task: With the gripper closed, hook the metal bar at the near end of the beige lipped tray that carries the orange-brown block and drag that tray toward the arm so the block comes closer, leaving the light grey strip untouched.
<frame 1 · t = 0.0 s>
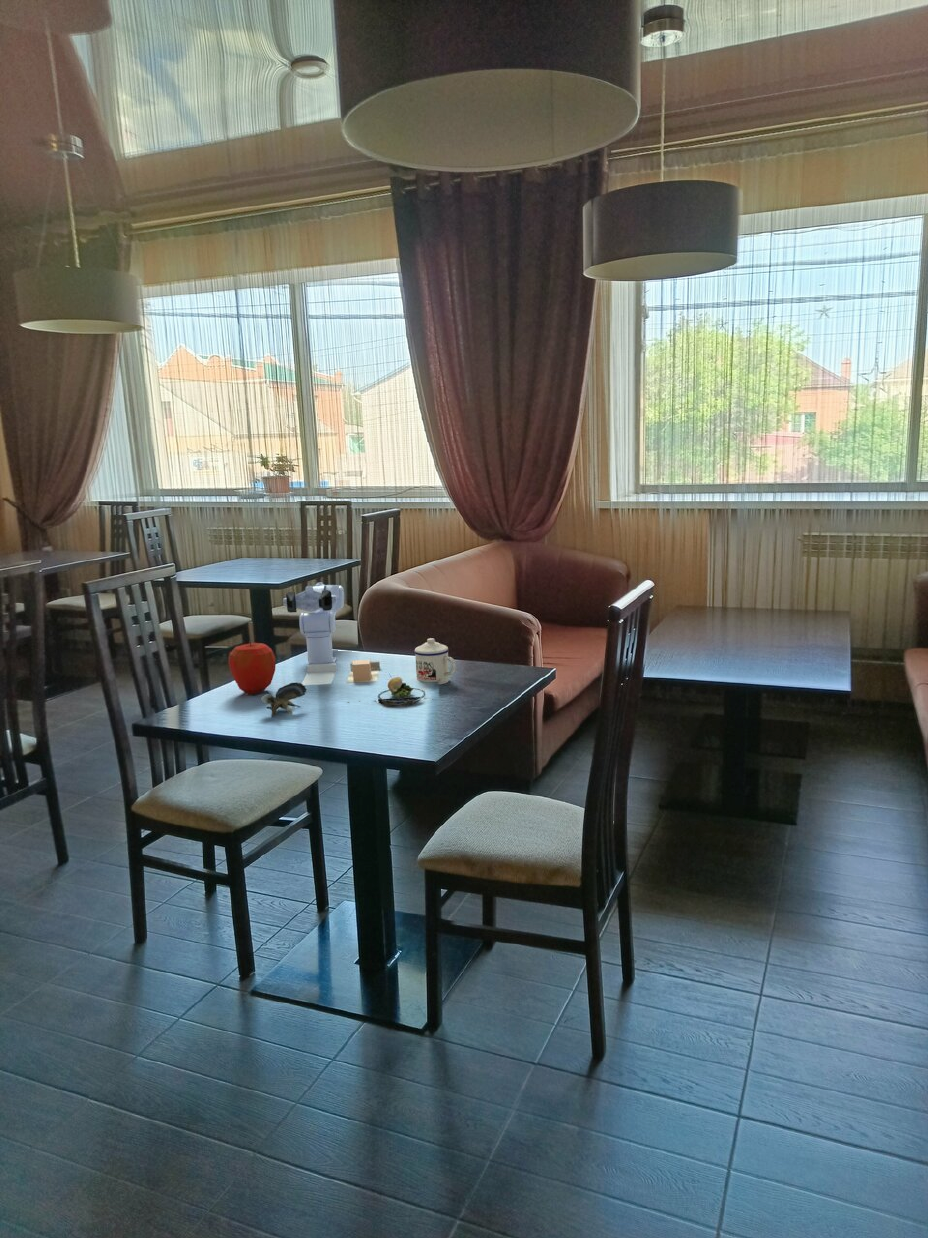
hand: (305, 603, 232), 22 cm above the table, tool horizontal, fingers open, 7 cm apart
apple: (255, 693, 229), on the table
beige lipped tray: (363, 673, 236), point 2 cm above the table, slide at 0.0 cm, touching block
teacup with lid: (437, 683, 230), on the table
grey strip: (319, 675, 236), point 2 cm above the table, slide at 0.0 cm
burger: (401, 701, 216), on the table
grey-brown animal figure: (285, 713, 211), on the table
block: (362, 678, 233), point 1 cm above the table, touching beige lipped tray
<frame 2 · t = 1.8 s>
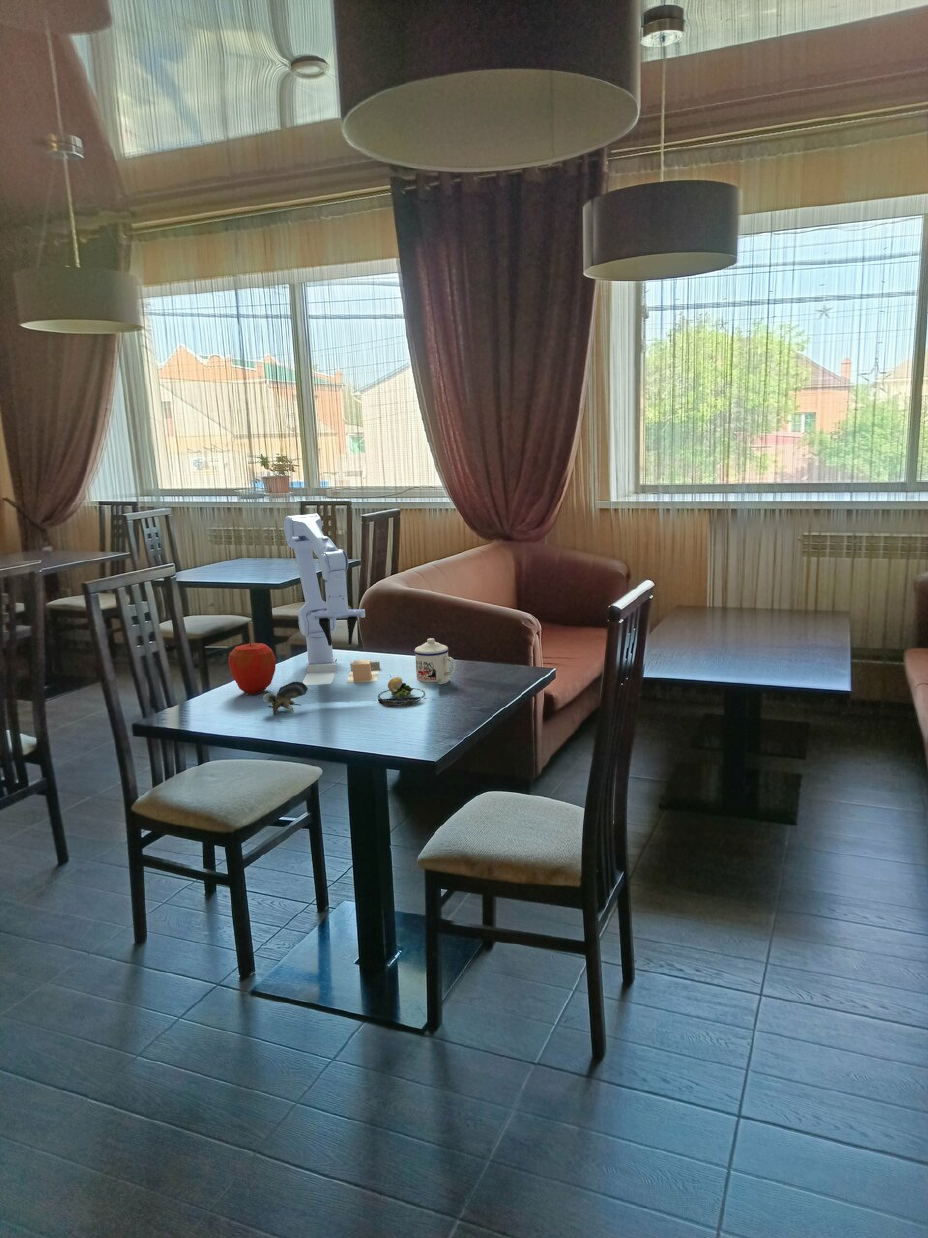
hand: (340, 644, 237), 9 cm above the table, tool pointing down, fingers open, 5 cm apart
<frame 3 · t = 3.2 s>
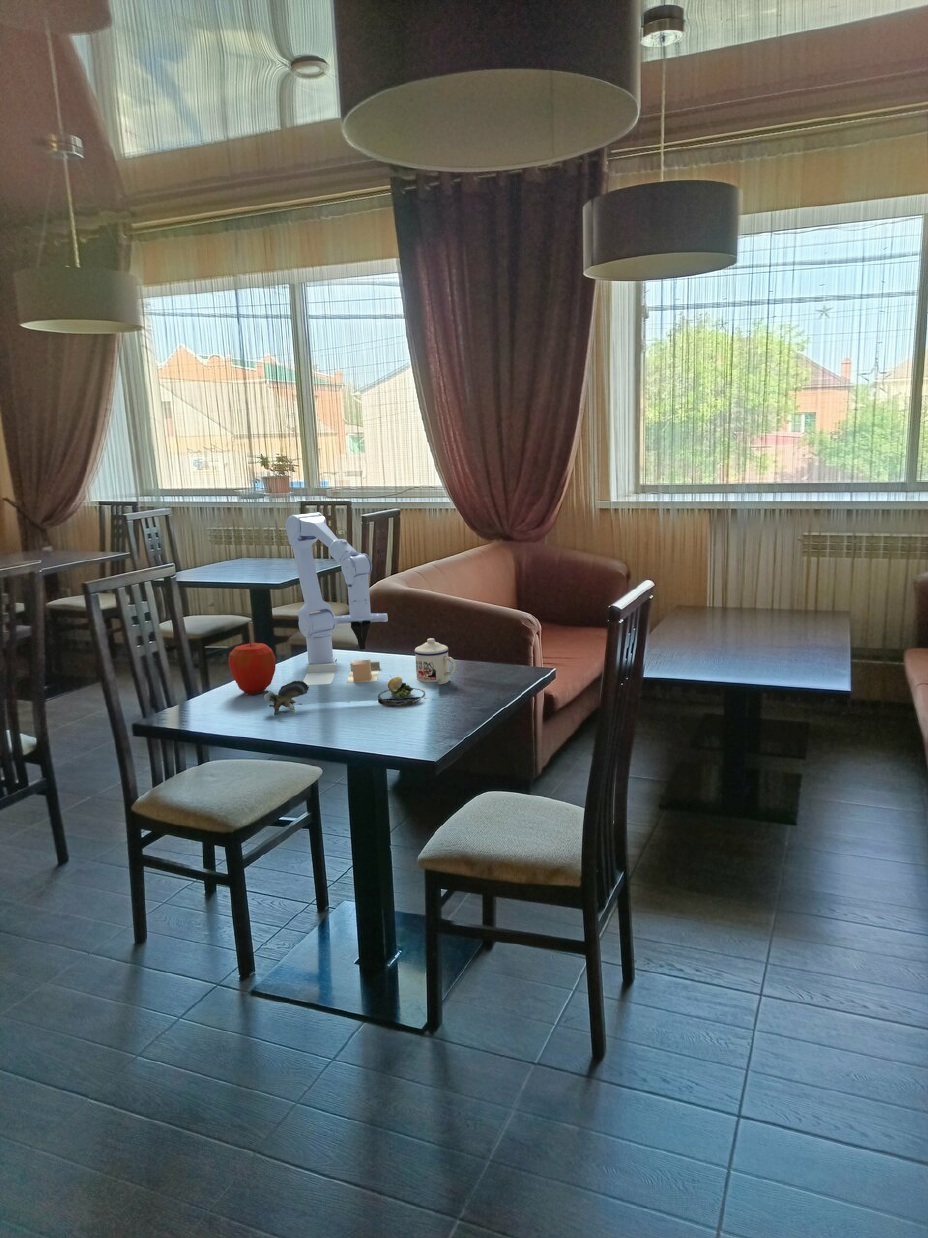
hand: (362, 648, 238), 8 cm above the table, tool pointing down, fingers closed
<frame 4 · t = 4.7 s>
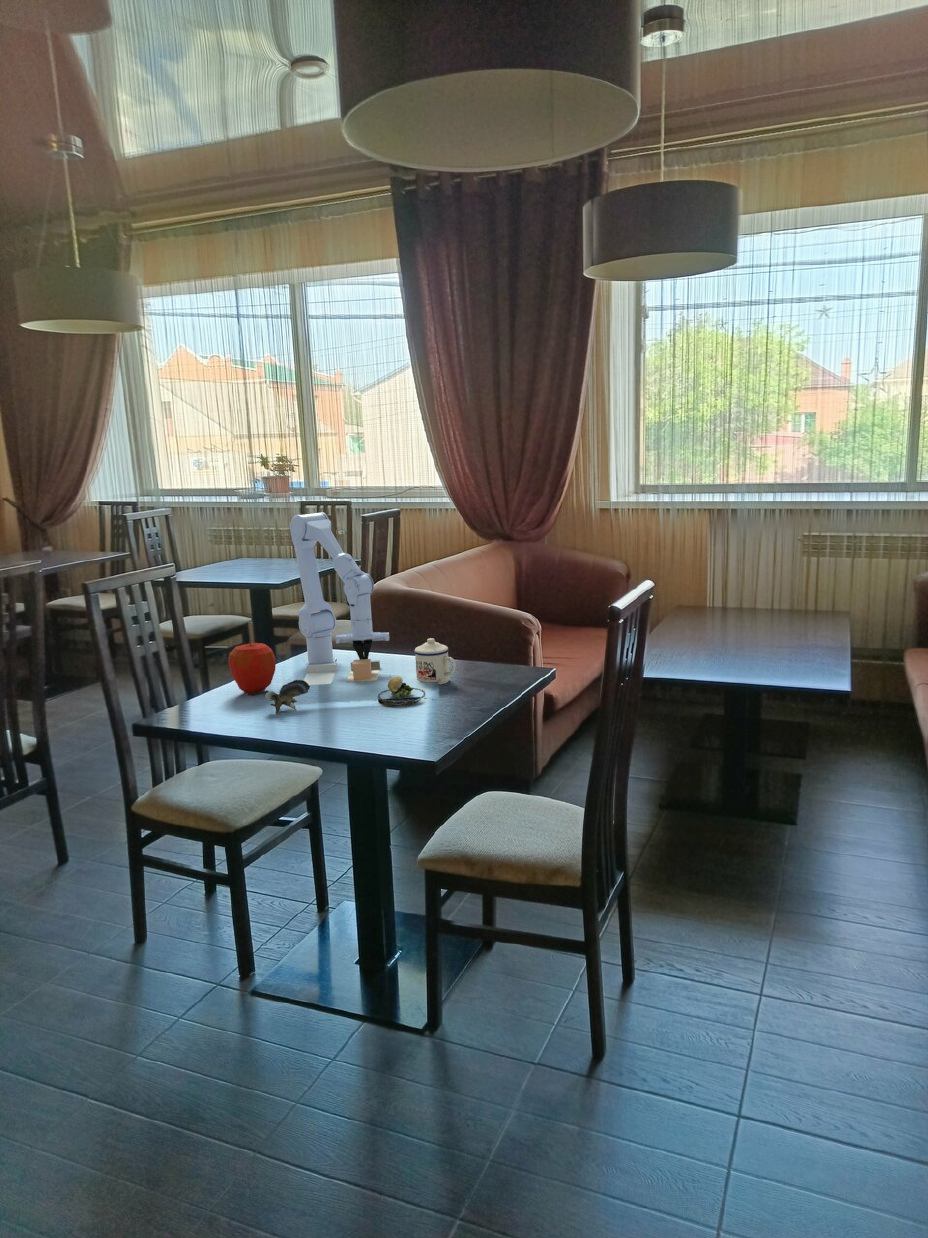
hand: (364, 666, 241), 2 cm above the table, tool pointing down, fingers closed, pressing on beige lipped tray
beige lipped tray: (363, 672, 237), point 2 cm above the table, slide at 0.8 cm, touching block, gripper
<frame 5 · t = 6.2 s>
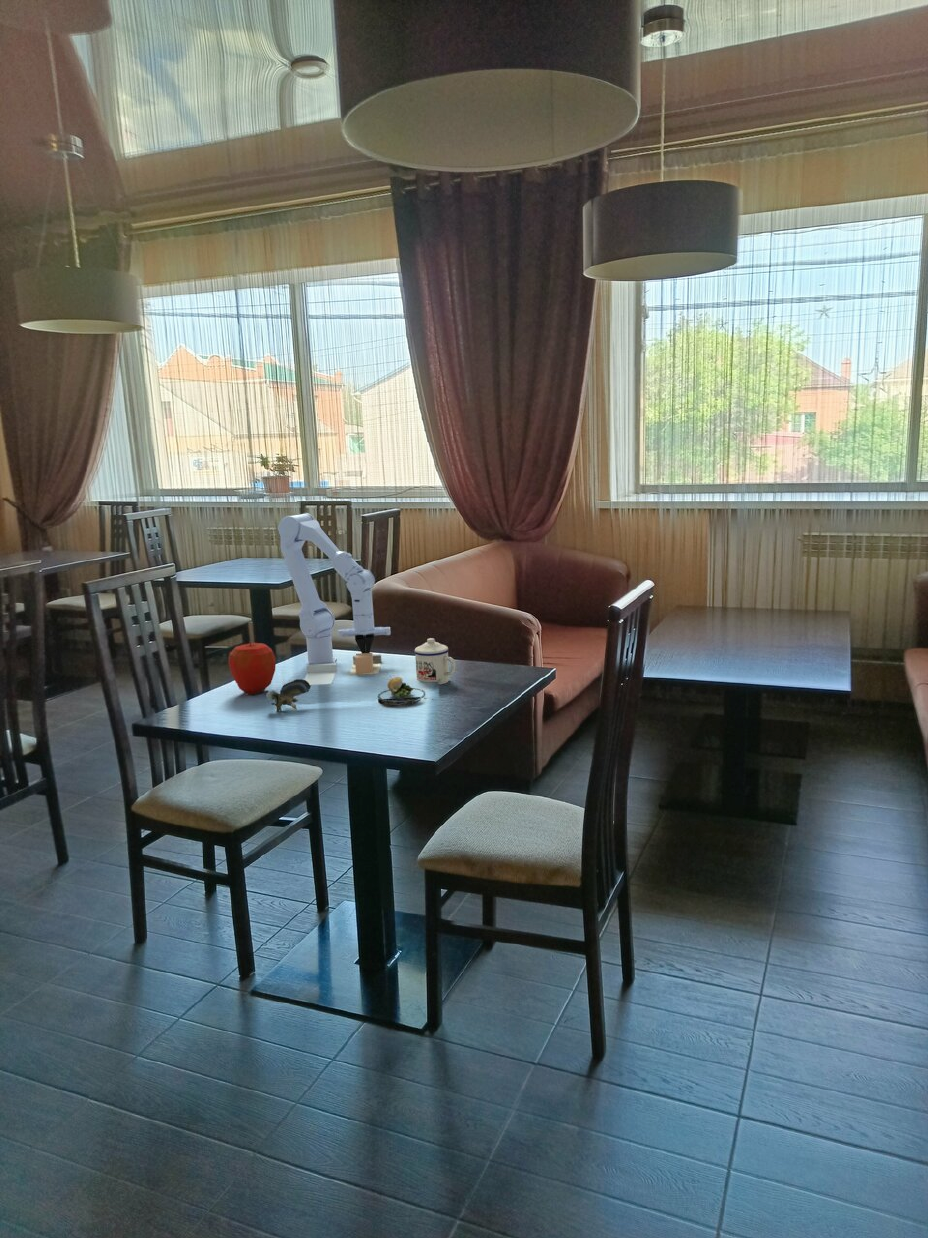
hand: (366, 660, 248), 2 cm above the table, tool pointing down, fingers closed, pressing on beige lipped tray
beige lipped tray: (365, 666, 244), point 2 cm above the table, slide at 7.8 cm, touching block, gripper
block: (364, 671, 240), point 1 cm above the table, touching beige lipped tray
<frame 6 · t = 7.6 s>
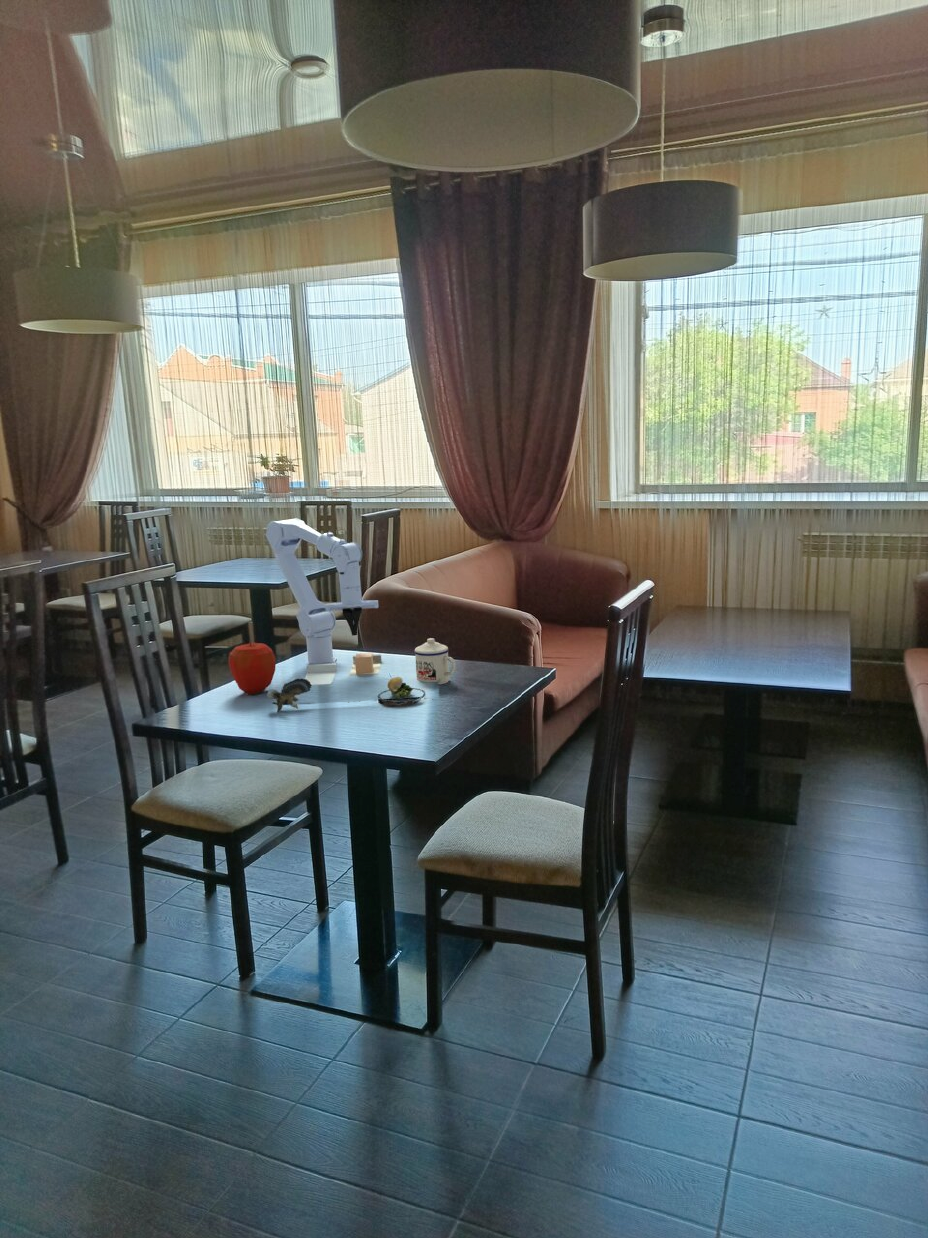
hand: (354, 634, 244), 10 cm above the table, tool pointing down, fingers closed
beige lipped tray: (365, 666, 244), point 2 cm above the table, slide at 7.8 cm, touching block
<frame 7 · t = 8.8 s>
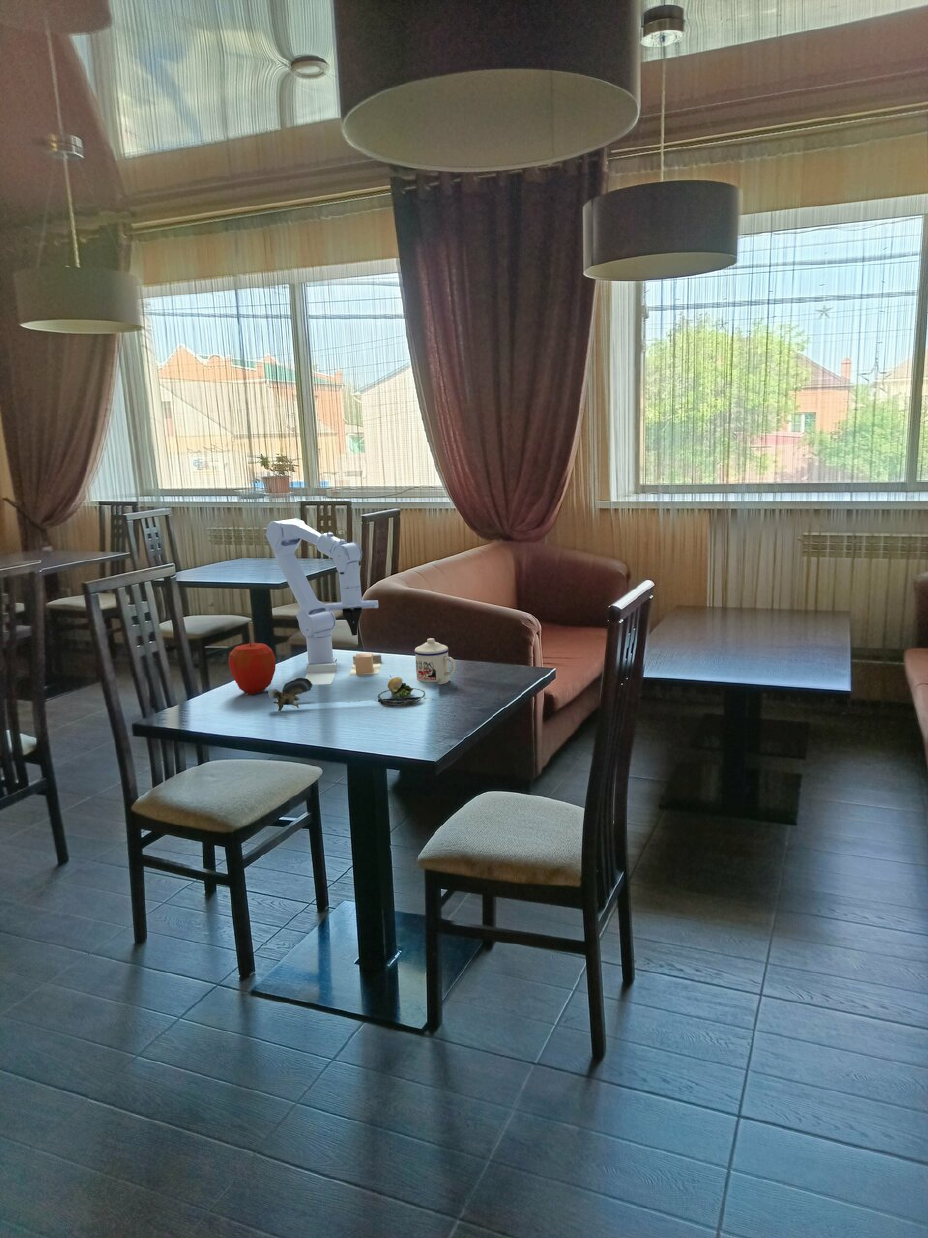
hand: (354, 634, 244), 10 cm above the table, tool pointing down, fingers closed
at the end: block inside the target area (0.7 cm from its centre), point 1.2 cm above the table; block tilted 0°; grey strip slide at 0.0 cm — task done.
